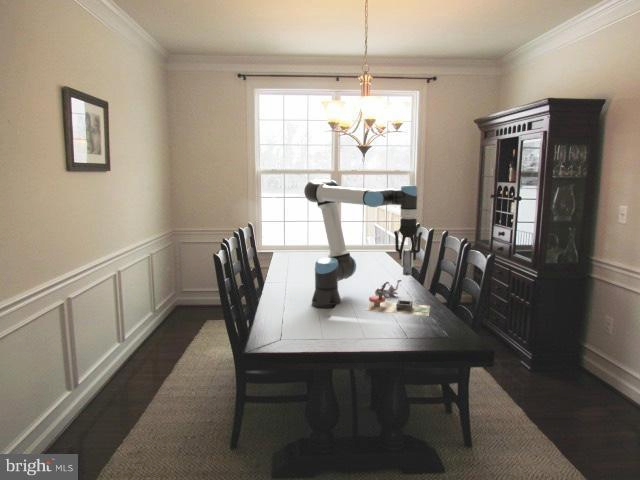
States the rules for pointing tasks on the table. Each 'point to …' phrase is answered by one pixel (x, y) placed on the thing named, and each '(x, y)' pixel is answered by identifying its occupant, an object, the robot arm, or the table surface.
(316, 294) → the robot arm
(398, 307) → the board
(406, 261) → the peg
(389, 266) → the table surface
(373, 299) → the handwheel
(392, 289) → the figurine
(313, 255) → the table surface
